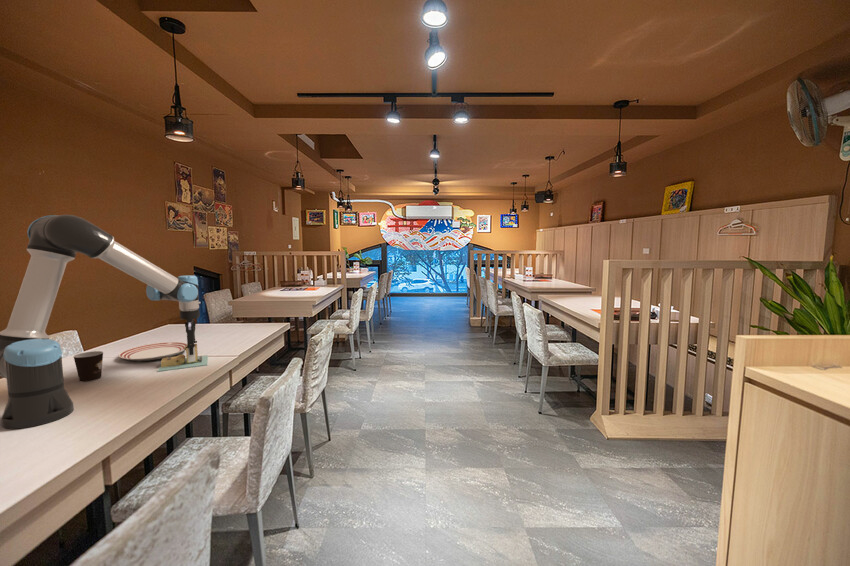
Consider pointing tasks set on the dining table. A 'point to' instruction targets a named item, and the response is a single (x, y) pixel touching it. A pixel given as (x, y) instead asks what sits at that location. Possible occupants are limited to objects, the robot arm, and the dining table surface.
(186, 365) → the hinge base
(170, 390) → the dining table surface
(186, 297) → the robot arm
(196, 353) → the yellow tan block
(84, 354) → the coffee mug
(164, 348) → the dinner plate
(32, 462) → the dining table surface
